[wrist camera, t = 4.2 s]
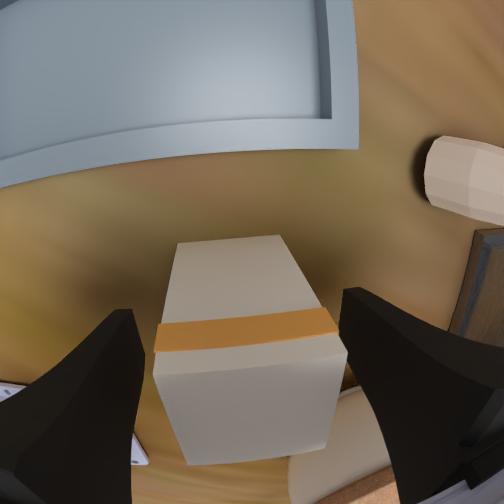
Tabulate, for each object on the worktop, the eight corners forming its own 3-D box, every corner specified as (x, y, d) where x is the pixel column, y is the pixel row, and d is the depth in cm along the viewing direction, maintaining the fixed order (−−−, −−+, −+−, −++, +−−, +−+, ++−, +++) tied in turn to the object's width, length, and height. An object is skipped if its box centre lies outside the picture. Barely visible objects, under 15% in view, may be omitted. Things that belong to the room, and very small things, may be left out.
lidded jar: (436, 335, 16) (522, 443, 8) (400, 431, 21) (445, 516, 12) (265, 379, 16) (306, 546, 7) (275, 465, 20) (299, 569, 12)
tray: (-12, 187, 10) (-31, 196, 8) (-13, 4, 6) (-30, -2, 5) (341, 145, 11) (358, 149, 10) (328, -52, 8) (341, -67, 6)
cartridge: (189, 327, 14) (186, 466, 7) (176, 242, 12) (149, 372, 6) (280, 318, 14) (326, 448, 8) (280, 233, 12) (350, 350, 6)
